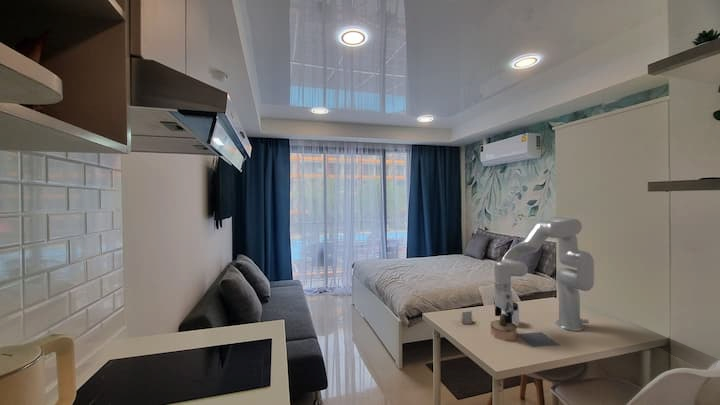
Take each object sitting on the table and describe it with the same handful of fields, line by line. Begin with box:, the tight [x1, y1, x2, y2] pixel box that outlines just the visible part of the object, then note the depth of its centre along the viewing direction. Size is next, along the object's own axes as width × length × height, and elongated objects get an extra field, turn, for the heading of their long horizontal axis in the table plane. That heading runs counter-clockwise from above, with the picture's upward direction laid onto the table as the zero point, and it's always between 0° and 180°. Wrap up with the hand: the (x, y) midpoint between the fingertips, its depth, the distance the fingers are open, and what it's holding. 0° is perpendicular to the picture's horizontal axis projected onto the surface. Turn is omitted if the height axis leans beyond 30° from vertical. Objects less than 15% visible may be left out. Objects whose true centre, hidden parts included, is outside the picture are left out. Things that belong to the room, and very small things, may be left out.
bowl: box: [490, 326, 517, 342], centre depth 158 cm, size 11×11×5 cm
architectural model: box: [459, 310, 474, 325], centre depth 176 cm, size 3×7×7 cm, turn 97°
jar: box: [501, 301, 520, 327], centre depth 171 cm, size 9×8×12 cm
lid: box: [490, 314, 518, 332], centre depth 158 cm, size 12×12×6 cm
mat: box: [516, 331, 561, 348], centre depth 153 cm, size 14×14×1 cm
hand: (503, 319), depth 157 cm, fingers open, 9 cm apart
